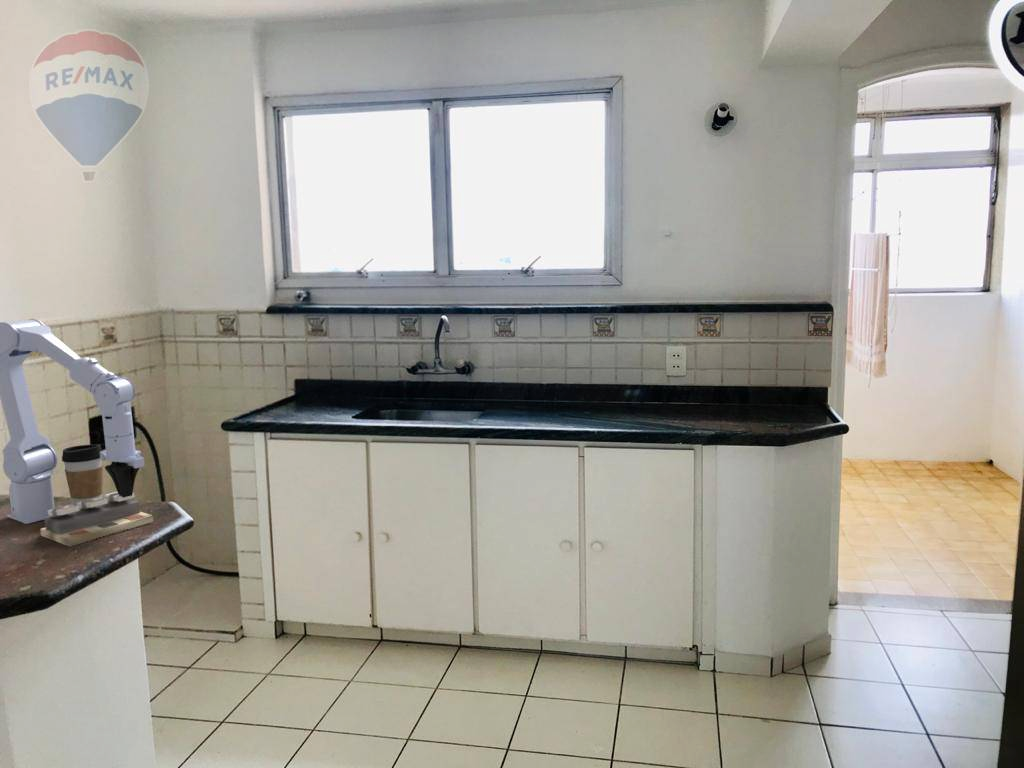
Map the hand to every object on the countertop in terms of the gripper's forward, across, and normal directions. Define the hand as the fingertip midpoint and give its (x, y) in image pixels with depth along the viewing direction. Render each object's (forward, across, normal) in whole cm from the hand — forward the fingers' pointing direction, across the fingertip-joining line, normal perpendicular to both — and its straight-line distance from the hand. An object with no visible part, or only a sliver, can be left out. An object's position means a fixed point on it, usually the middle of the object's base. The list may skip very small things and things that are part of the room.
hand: (125, 495), depth 179 cm
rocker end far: (0, +3, 0) cm, 3 cm away
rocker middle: (0, +3, +6) cm, 7 cm away
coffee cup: (+6, +16, +1) cm, 17 cm away
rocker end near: (0, +3, +12) cm, 12 cm away
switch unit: (+6, +1, +6) cm, 9 cm away
